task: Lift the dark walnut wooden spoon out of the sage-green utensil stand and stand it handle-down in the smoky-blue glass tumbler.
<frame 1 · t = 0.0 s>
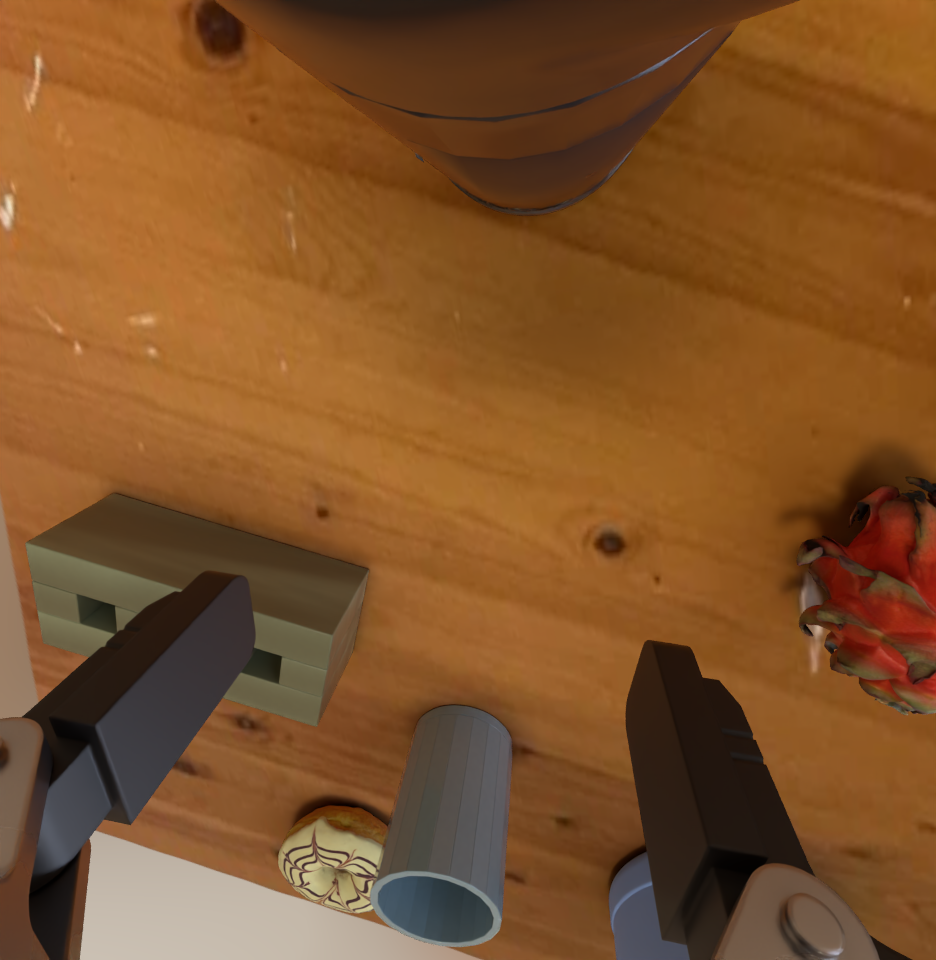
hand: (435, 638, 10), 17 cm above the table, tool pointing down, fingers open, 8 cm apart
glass: (463, 740, 36), on the table
water jug: (705, 891, 40), on the table
decorated donut: (351, 834, 44), on the table
stand: (238, 576, 33), on the table
dragon fruit: (863, 550, 26), on the table
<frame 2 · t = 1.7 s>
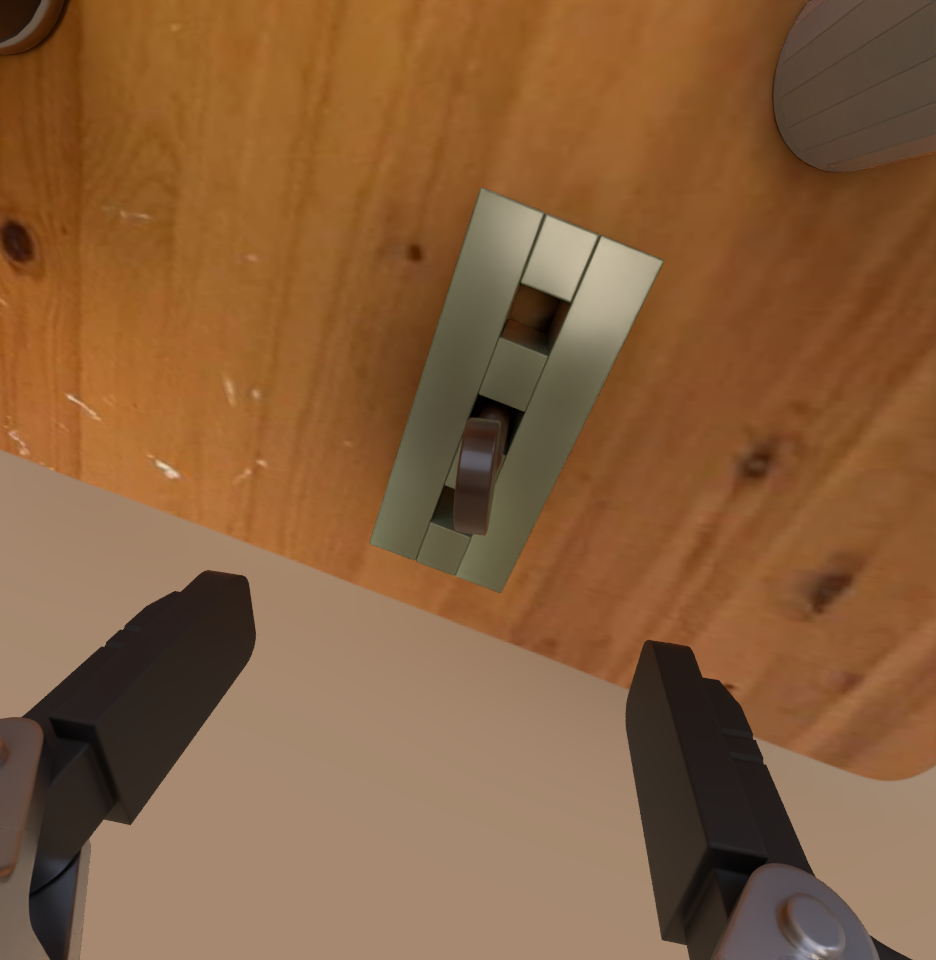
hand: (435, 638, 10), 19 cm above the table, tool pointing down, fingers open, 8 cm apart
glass: (872, 66, 20), on the table
stand: (502, 390, 27), on the table
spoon: (502, 390, 27), resting in stand
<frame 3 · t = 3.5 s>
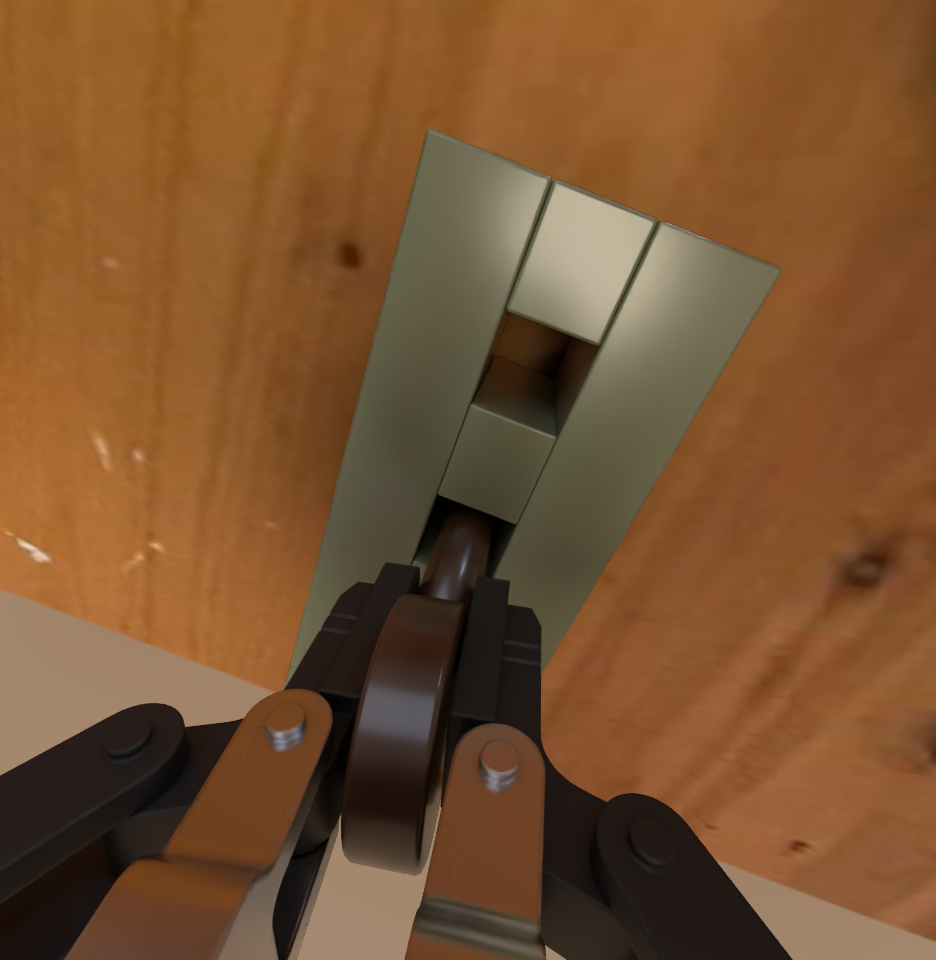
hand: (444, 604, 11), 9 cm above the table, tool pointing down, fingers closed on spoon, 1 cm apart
stand: (486, 458, 19), on the table
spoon: (486, 458, 19), resting in stand, touching gripper
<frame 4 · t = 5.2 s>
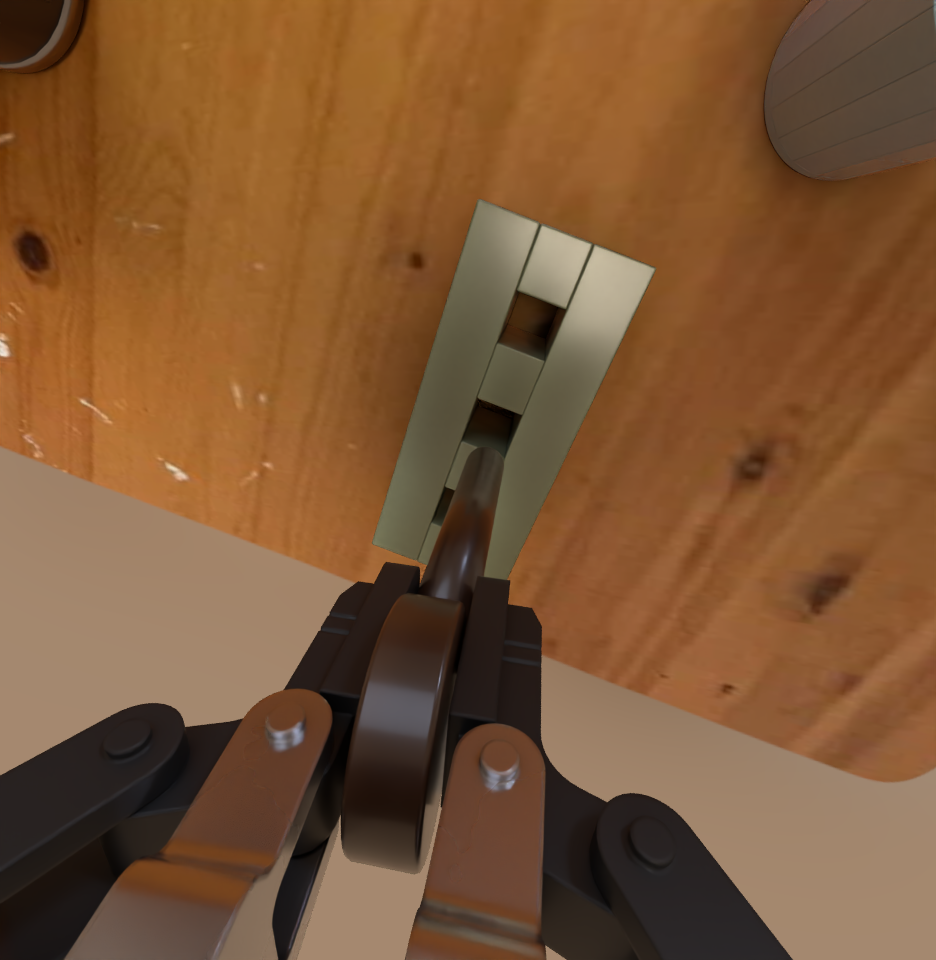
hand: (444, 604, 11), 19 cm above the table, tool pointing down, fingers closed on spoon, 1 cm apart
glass: (860, 78, 20), on the table
stand: (501, 394, 28), on the table
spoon: (486, 458, 19), point 10 cm above the table, touching gripper
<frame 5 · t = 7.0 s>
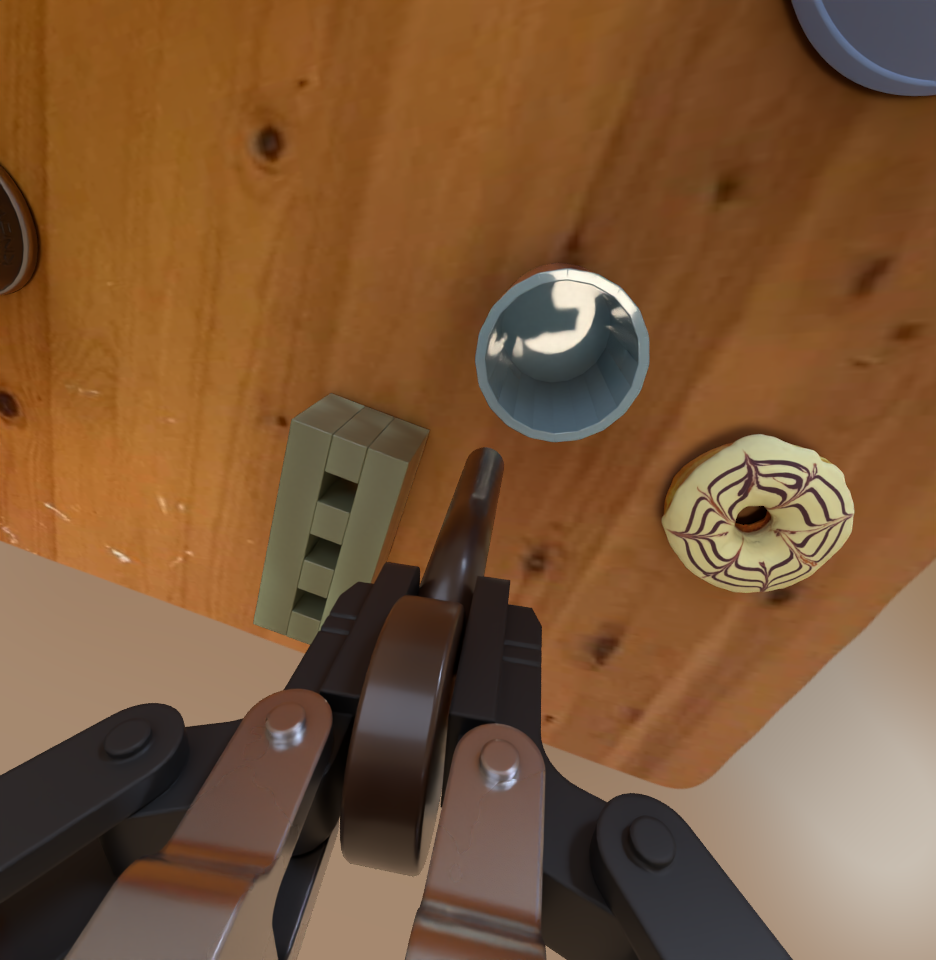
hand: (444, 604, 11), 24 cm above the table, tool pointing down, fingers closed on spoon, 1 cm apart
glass: (554, 327, 31), on the table
decorated donut: (740, 501, 34), on the table
stand: (353, 510, 38), on the table
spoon: (486, 459, 19), point 15 cm above the table, touching gripper
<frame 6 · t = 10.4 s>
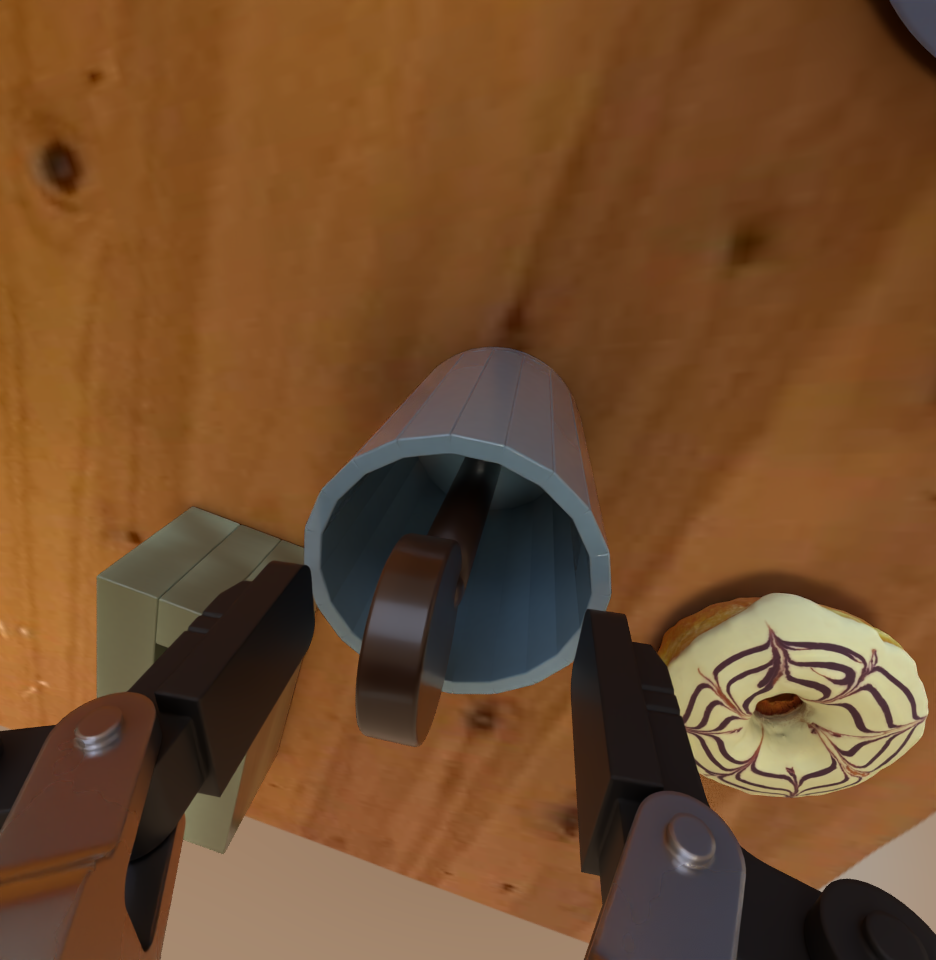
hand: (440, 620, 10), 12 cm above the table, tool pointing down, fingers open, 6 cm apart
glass: (493, 433, 21), on the table, touching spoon
decorated donut: (757, 662, 24), on the table
stand: (240, 646, 29), on the table
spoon: (492, 440, 20), point 1 cm above the table, touching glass
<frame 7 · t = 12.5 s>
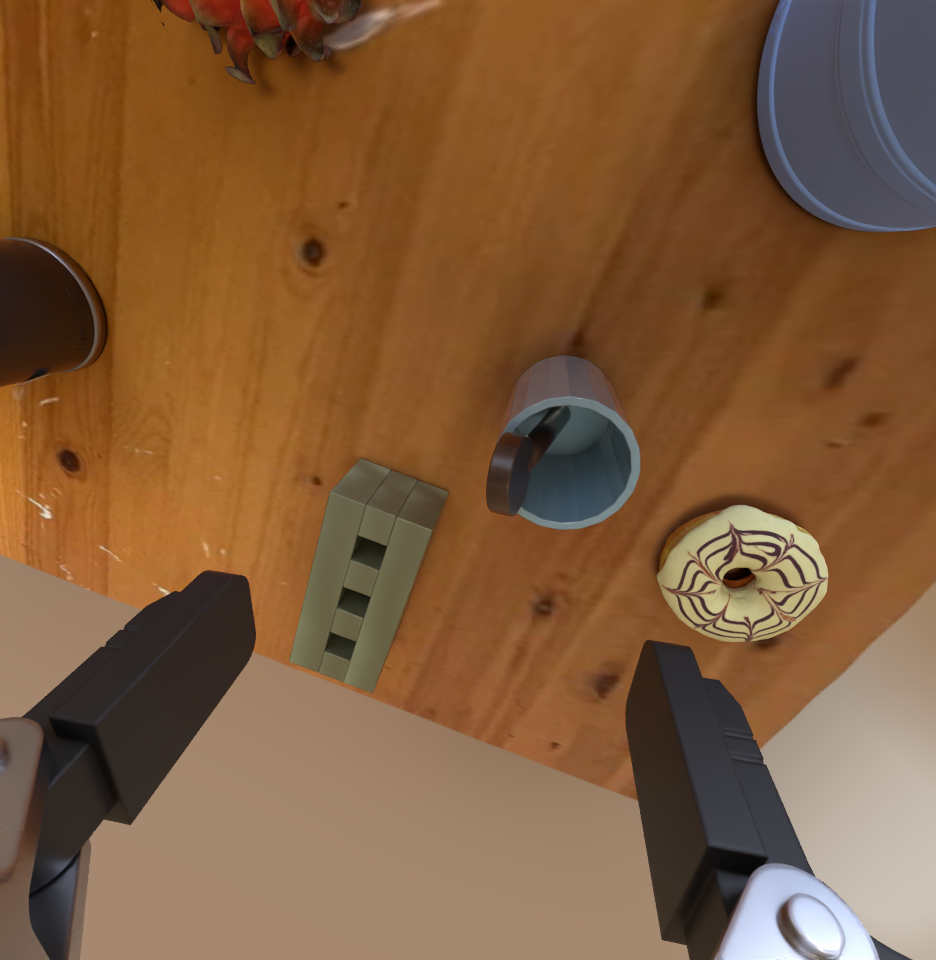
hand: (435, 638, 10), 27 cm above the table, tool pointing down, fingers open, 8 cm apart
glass: (561, 408, 35), on the table, touching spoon
water jug: (920, 57, 25), on the table
decorated donut: (728, 558, 38), on the table
stand: (378, 558, 42), on the table
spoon: (562, 412, 34), point 1 cm above the table, tilted 14°, touching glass
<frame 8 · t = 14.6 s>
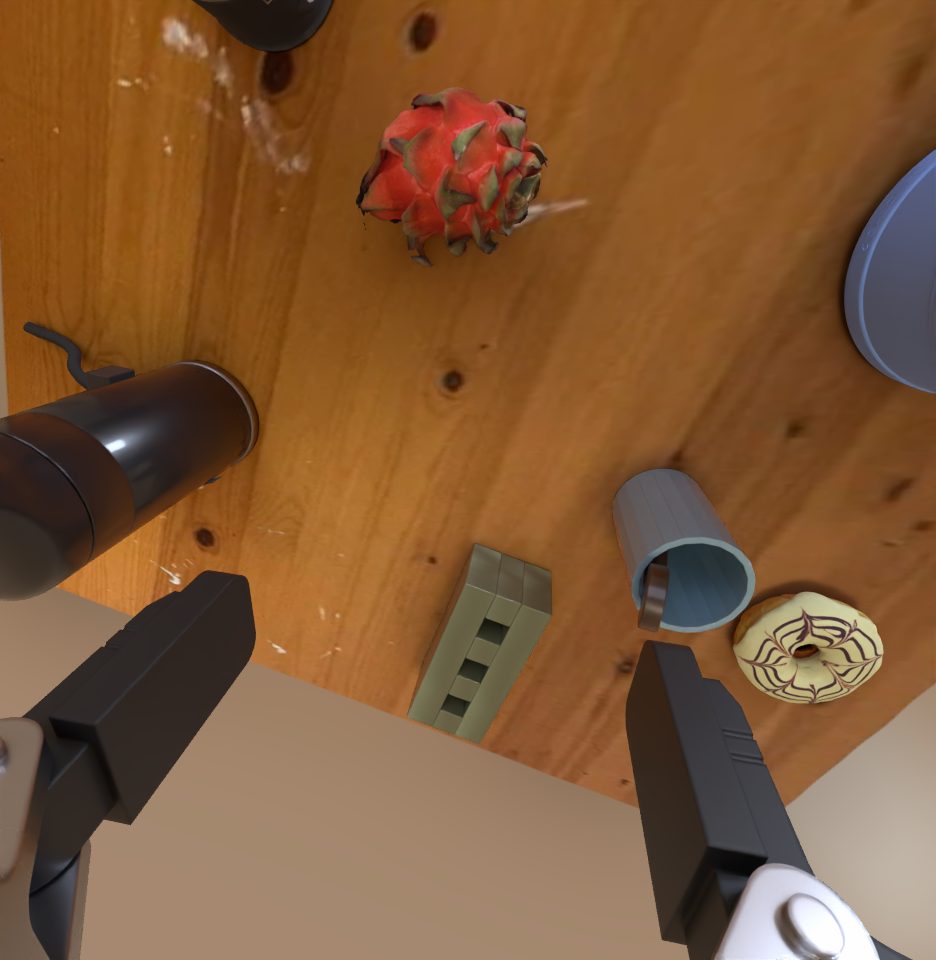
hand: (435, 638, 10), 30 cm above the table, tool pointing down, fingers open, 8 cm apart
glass: (657, 509, 41), on the table, touching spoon
decorated donut: (792, 630, 44), on the table
stand: (481, 624, 48), on the table
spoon: (660, 514, 40), point 1 cm above the table, tilted 14°, touching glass
dragon fruit: (458, 188, 33), on the table
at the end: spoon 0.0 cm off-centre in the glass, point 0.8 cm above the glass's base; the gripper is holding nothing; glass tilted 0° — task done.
